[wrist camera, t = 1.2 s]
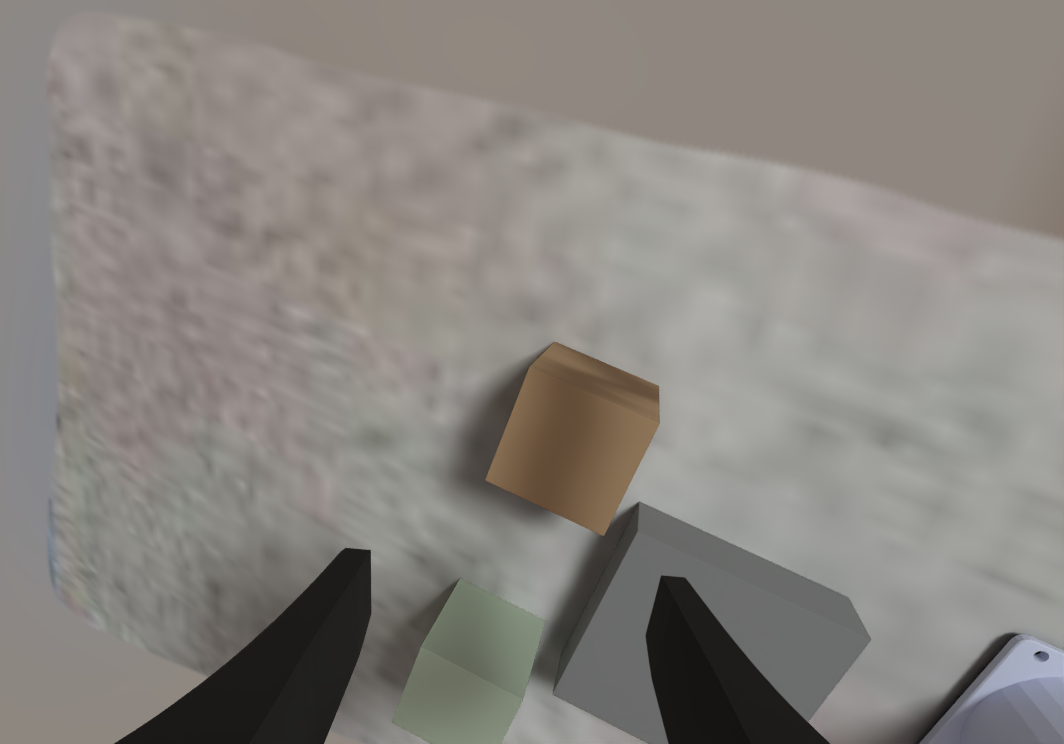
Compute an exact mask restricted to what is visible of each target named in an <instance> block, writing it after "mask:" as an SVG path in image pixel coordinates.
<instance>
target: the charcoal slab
mask: <svg viewBox="0 0 1064 744" xmlns="http://www.w3.org/2000/svg"><path fill="white" fill-rule="evenodd" d="M661 575H663V576H675V577H685V578H686V579H687V580H688V582H689V583H690V584H691V586H692V587H693V588H694V589H695V591H696V592H697V593H698V595H699V596H700V597H701V599H702V600H703V601H704V603H705V604H706V605H707V607H708V608H709V609H710V611H711V612H712V613H713V614H714V616H715V617H716V618H717V620H718V621H719V622H720V624H721V625H722V626H723V627H724V629H725V630H726V631H727V632H728V634H729V635H730V636H731V637H732V639H733V640H734V641H735V642H736V644H737V645H738V646H739V647H740V648H741V650H742V651H743V652H744V653H745V655H746V656H747V657H748V658H749V659H750V661H751V662H752V663H753V664H754V665H755V667H756V668H757V669H758V670H759V671H760V672H761V673H762V674H763V676H764V677H765V678H766V679H767V680H768V681H769V682H770V683H771V685H772V686H773V687H774V688H775V689H776V690H777V691H778V692H779V693H780V694H781V695H782V697H783V698H784V699H785V700H786V701H787V702H788V703H789V704H790V705H791V706H792V707H793V708H794V709H795V710H796V711H797V712H798V713H799V714H800V715H801V716H802V717H803V718H804V719H805V720H806V721H807V722H808V721H809V720H810V719H811V718H812V716H813V715H814V714H815V712H816V711H817V710H818V708H819V707H820V706H821V705H822V703H823V702H824V701H825V699H826V698H827V697H828V695H829V694H830V693H831V692H832V690H833V689H834V688H835V686H836V685H837V684H838V682H839V681H840V680H841V679H842V677H843V676H844V675H845V673H846V672H847V671H848V669H849V668H850V667H851V666H852V664H853V663H854V662H855V660H856V659H857V658H858V656H859V655H860V654H861V653H862V651H863V650H864V649H865V647H866V646H867V645H868V643H869V642H870V641H871V638H870V636H869V634H868V633H867V631H866V629H865V627H864V625H863V623H862V621H861V620H860V618H859V616H858V614H857V612H856V610H855V608H854V607H853V605H852V603H851V601H850V599H849V597H847V596H844V595H842V594H840V593H838V592H836V591H834V590H831V589H829V588H827V587H825V586H823V585H820V584H818V583H816V582H814V581H812V580H810V579H807V578H805V577H803V576H801V575H799V574H797V573H794V572H792V571H790V570H788V569H786V568H783V567H781V566H779V565H777V564H775V563H773V562H770V561H768V560H766V559H764V558H762V557H759V556H757V555H755V554H753V553H751V552H749V551H746V550H744V549H742V548H740V547H738V546H735V545H733V544H731V543H729V542H727V541H725V540H722V539H720V538H718V537H716V536H714V535H711V534H709V533H707V532H705V531H703V530H701V529H698V528H696V527H694V526H692V525H690V524H687V523H685V522H683V521H681V520H679V519H677V518H674V517H672V516H670V515H668V514H666V513H663V512H661V511H659V510H657V509H655V508H653V507H650V506H648V505H646V504H644V503H642V502H639V504H638V506H637V508H636V510H635V511H634V513H633V515H632V517H631V519H630V521H629V523H628V525H627V527H626V529H625V531H624V533H623V535H622V537H621V539H620V541H619V543H618V545H617V547H616V548H615V550H614V552H613V554H612V556H611V558H610V560H609V562H608V564H607V566H606V568H605V570H604V572H603V574H602V576H601V578H600V580H599V582H598V584H597V586H596V587H595V589H594V591H593V593H592V595H591V597H590V599H589V601H588V603H587V605H586V607H585V609H584V611H583V613H582V615H581V617H580V619H579V621H578V623H577V624H576V626H575V628H574V630H573V632H572V634H571V636H570V638H569V640H568V642H567V644H566V646H565V648H564V650H563V652H562V654H561V658H560V663H559V667H558V671H557V676H556V680H555V685H554V689H553V695H555V696H557V697H559V698H561V699H563V700H565V701H567V702H569V703H570V704H572V705H574V706H576V707H578V708H580V709H582V710H584V711H586V712H588V713H590V714H592V715H594V716H596V717H598V718H600V719H602V720H604V721H606V722H607V723H609V724H611V725H613V726H615V727H617V728H619V729H621V730H623V731H625V732H627V733H629V734H631V735H633V736H635V737H637V738H639V739H641V740H643V741H644V742H646V743H648V744H668V740H667V736H666V732H665V729H664V725H663V721H662V717H661V714H660V710H659V706H658V702H657V698H656V694H655V690H654V686H653V682H652V678H651V671H650V665H649V659H648V651H647V644H646V637H645V635H646V631H647V627H648V623H649V620H650V616H651V612H652V608H653V604H654V601H655V597H656V593H657V589H658V585H659V582H660V578H661Z"/></svg>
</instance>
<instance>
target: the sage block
mask: <svg viewBox="0 0 1064 744" xmlns="http://www.w3.org/2000/svg"><path fill="white" fill-rule="evenodd" d="M545 621H546V620H544V619H542V618H540V617H538V616H536V615H534V614H532V613H530V612H528V611H526V610H524V609H522V608H520V607H518V606H516V605H514V604H512V603H510V602H508V601H506V600H504V599H502V598H500V597H498V596H496V595H494V594H492V593H490V592H488V591H486V590H484V589H482V588H480V587H478V586H476V585H474V584H472V583H470V582H468V581H466V580H464V579H462V578H460V580H459V581H458V583H457V585H456V586H455V588H454V590H453V592H452V593H451V595H450V597H449V599H448V600H447V602H446V604H445V606H444V607H443V609H442V611H441V613H440V614H439V616H438V618H437V620H436V621H435V623H434V625H433V626H432V628H431V630H430V632H429V633H428V635H427V637H426V639H425V640H424V642H423V644H422V646H421V648H420V650H419V653H418V655H417V658H416V661H415V663H414V666H413V668H412V671H411V673H410V676H409V679H408V681H407V684H406V686H405V689H404V691H403V694H402V697H401V699H400V702H399V704H398V707H397V709H396V712H395V715H394V717H393V720H392V723H394V724H396V725H398V726H399V727H401V728H403V729H405V730H407V731H409V732H410V733H412V734H414V735H416V736H418V737H420V738H422V739H423V740H425V741H427V742H429V743H431V744H501V743H502V741H503V739H504V737H505V735H506V733H507V731H508V729H509V727H510V725H511V723H512V721H513V719H514V717H515V715H516V713H517V711H518V709H519V707H520V705H521V703H522V701H523V698H524V694H525V691H526V687H527V684H528V680H529V677H530V673H531V670H532V666H533V663H534V660H535V656H536V653H537V649H538V646H539V642H540V639H541V635H542V632H543V628H544V625H545Z"/></svg>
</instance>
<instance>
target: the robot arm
mask: <svg viewBox="0 0 1064 744" xmlns="http://www.w3.org/2000/svg"><path fill="white" fill-rule="evenodd" d="M370 616H371V550H362V549H351V548H345V549H344V550H342V551H341V552H340V553H339V554H338V555H337V556H336V558H335V559H334V560H333V561H332V562H331V563H330V564H329V565H328V566H327V568H326V569H325V570H324V571H323V572H322V573H321V574H320V575H319V576H318V577H317V578H316V579H315V580H314V582H313V583H312V584H311V585H310V586H309V587H308V588H307V589H306V590H305V591H304V592H303V593H302V594H301V595H300V596H299V597H298V598H297V599H296V600H295V601H294V602H293V603H292V604H291V605H290V606H289V607H288V608H287V609H286V610H285V611H284V612H283V613H282V614H281V615H280V616H279V617H278V618H277V619H276V620H275V621H274V622H272V623H271V624H270V625H269V626H268V627H267V628H266V629H265V630H264V631H263V632H262V633H260V634H259V635H258V636H257V637H256V638H255V639H254V640H253V641H252V642H251V643H249V644H248V645H247V646H246V647H245V648H244V649H243V650H241V651H240V652H239V653H238V654H237V655H236V656H234V657H233V658H232V659H231V660H230V661H228V662H227V663H226V664H225V665H224V666H222V667H221V668H220V669H219V670H217V671H216V672H215V673H214V674H212V675H211V676H210V677H209V678H207V679H206V680H205V681H204V682H202V683H201V684H200V685H199V686H197V687H196V688H194V689H193V690H192V691H190V692H189V693H187V694H186V695H185V696H184V697H182V698H181V699H179V700H178V701H177V702H175V703H174V704H173V705H171V706H170V707H168V708H167V709H166V710H164V711H163V712H161V713H160V714H159V715H157V716H156V717H154V718H153V719H151V720H150V721H148V722H147V723H145V724H144V725H142V726H141V727H139V728H138V729H136V730H135V731H133V732H132V733H130V734H128V735H127V736H125V737H124V738H122V739H121V740H119V741H118V742H116V743H115V744H324V742H325V739H326V737H327V735H328V732H329V730H330V727H331V725H332V722H333V720H334V718H335V715H336V713H337V710H338V708H339V705H340V703H341V700H342V698H343V695H344V693H345V690H346V688H347V685H348V683H349V680H350V678H351V675H352V673H353V670H354V668H355V665H356V663H357V660H358V658H359V655H360V651H361V648H362V644H363V641H364V638H365V634H366V630H367V627H368V623H369V620H370ZM645 637H646V644H647V651H648V659H649V665H650V671H651V678H652V682H653V686H654V690H655V694H656V698H657V702H658V706H659V710H660V714H661V717H662V721H663V725H664V729H665V732H666V736H667V740H668V744H830V743H829V742H828V741H827V740H826V739H825V738H824V737H822V736H821V735H820V734H819V733H818V732H817V731H816V730H815V729H814V728H813V727H812V726H811V725H810V724H809V723H808V722H807V721H806V720H805V719H804V718H803V717H802V716H801V715H800V714H799V713H798V712H797V711H796V710H795V709H794V708H793V707H792V706H791V705H790V704H789V703H788V702H787V701H786V700H785V699H784V698H783V697H782V695H781V694H780V693H779V692H778V691H777V690H776V689H775V688H774V687H773V686H772V685H771V683H770V682H769V681H768V680H767V679H766V678H765V677H764V676H763V674H762V673H761V672H760V671H759V670H758V669H757V668H756V667H755V665H754V664H753V663H752V662H751V661H750V659H749V658H748V657H747V656H746V655H745V653H744V652H743V651H742V650H741V648H740V647H739V646H738V645H737V644H736V642H735V641H734V640H733V639H732V637H731V636H730V635H729V634H728V632H727V631H726V630H725V629H724V627H723V626H722V625H721V624H720V622H719V621H718V620H717V618H716V617H715V616H714V614H713V613H712V612H711V611H710V609H709V608H708V607H707V605H706V604H705V603H704V601H703V600H702V599H701V597H700V596H699V595H698V593H697V592H696V591H695V589H694V588H693V587H692V586H691V584H690V583H689V582H688V580H687V579H686V578H685V577H675V576H663V575H661V578H660V582H659V585H658V589H657V593H656V597H655V601H654V604H653V608H652V612H651V616H650V620H649V623H648V627H647V631H646V635H645ZM1038 651H1041V653H1039V654H1036V655H1034V654H1035V653H1036V652H1038ZM919 744H1064V651H1063V650H1061V649H1059V648H1057V647H1054V646H1052V645H1050V644H1048V643H1045V642H1043V641H1041V640H1039V639H1036V638H1034V637H1032V636H1029V635H1017V636H1014V637H1013V638H1012V639H1011V640H1010V641H1009V642H1008V643H1007V644H1006V645H1005V646H1004V648H1003V649H1002V650H1001V651H1000V652H999V653H998V654H997V656H996V657H995V658H994V659H993V660H992V661H991V662H990V663H989V665H988V666H987V667H986V668H985V669H984V670H983V671H982V673H981V674H980V675H979V676H978V677H977V678H976V679H975V681H974V682H973V683H972V684H971V685H970V686H969V687H968V689H967V690H966V691H965V692H964V693H963V694H962V695H961V696H960V698H959V699H958V700H957V701H956V702H955V703H954V704H953V706H952V707H951V708H950V709H949V710H948V711H947V712H946V714H945V715H944V716H943V717H942V718H941V719H940V720H939V722H938V723H937V724H936V725H935V726H934V727H933V728H932V729H931V731H930V732H929V733H928V734H927V735H926V736H925V737H924V739H923V740H922V741H921V742H920V743H919Z"/></svg>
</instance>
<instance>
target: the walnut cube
mask: <svg viewBox="0 0 1064 744" xmlns="http://www.w3.org/2000/svg"><path fill="white" fill-rule="evenodd" d="M659 424H660V415H659V386H658V385H655V384H653V383H651V382H648V381H646V380H644V379H641V378H639V377H637V376H634V375H632V374H629V373H627V372H625V371H622V370H620V369H618V368H615V367H613V366H611V365H608V364H606V363H604V362H601V361H599V360H597V359H594V358H592V357H590V356H587V355H585V354H583V353H580V352H578V351H576V350H573V349H571V348H569V347H566V346H564V345H562V344H559V343H557V342H554V343H553V344H552V345H551V346H550V347H549V348H548V349H547V350H546V351H545V352H544V353H543V354H542V355H541V356H540V357H539V358H538V359H537V360H536V361H535V362H534V363H533V364H532V365H531V366H530V367H529V369H528V372H527V374H526V377H525V379H524V382H523V385H522V387H521V390H520V392H519V395H518V397H517V400H516V403H515V405H514V408H513V410H512V413H511V415H510V418H509V421H508V423H507V426H506V428H505V431H504V433H503V436H502V439H501V441H500V444H499V446H498V449H497V451H496V454H495V457H494V459H493V462H492V464H491V467H490V469H489V472H488V475H487V477H486V480H485V481H488V482H490V483H492V484H494V485H496V486H498V487H500V488H502V489H505V490H507V491H509V492H511V493H513V494H515V495H517V496H519V497H522V498H524V499H526V500H528V501H530V502H532V503H534V504H536V505H539V506H541V507H543V508H545V509H547V510H549V511H551V512H553V513H556V514H558V515H560V516H562V517H564V518H566V519H568V520H570V521H573V522H575V523H577V524H579V525H581V526H583V527H585V528H587V529H590V530H592V531H594V532H596V533H598V534H600V535H602V536H604V535H605V533H606V531H607V529H608V527H609V525H610V523H611V521H612V519H613V517H614V515H615V513H616V510H617V508H618V506H619V504H620V502H621V500H622V498H623V496H624V494H625V492H626V490H627V488H628V486H629V484H630V482H631V480H632V478H633V476H634V474H635V472H636V470H637V468H638V466H639V464H640V462H641V460H642V458H643V456H644V454H645V452H646V450H647V448H648V446H649V444H650V442H651V440H652V438H653V436H654V434H655V432H656V430H657V428H658V426H659Z"/></svg>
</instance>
